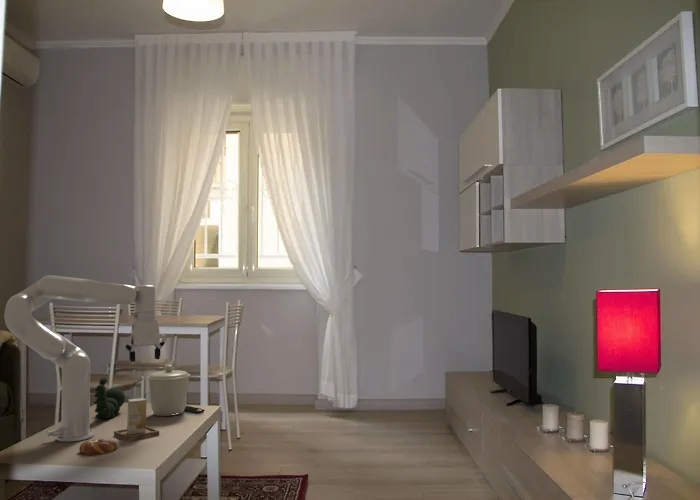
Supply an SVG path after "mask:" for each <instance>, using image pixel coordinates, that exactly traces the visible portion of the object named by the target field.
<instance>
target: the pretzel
mask: <svg viewBox="0 0 700 500" xmlns="http://www.w3.org/2000/svg"><path fill="white" fill-rule="evenodd" d="M118 446H119V445H118V443H117V442H116V440H112V439H103V438H101V439H100V438H99V439H92V440H86V441H84V442H82V443H81V444H80V446H79V453H81V454H83V455H86V456H96V455H101V454H107V453H111V452H112V451H115V450H117V449H118Z"/></svg>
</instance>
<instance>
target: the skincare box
mask: <svg viewBox="0 0 700 500" xmlns="http://www.w3.org/2000/svg"><path fill="white" fill-rule="evenodd" d="M126 420H127V423H126V429H127V433H128V434H129V435H130V434H137V433H146V426H147V399H146V398H145V397H144V398H142V397H140V398H133V399H132V398H131V399H130V398H129V399H127V419H126Z"/></svg>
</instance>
